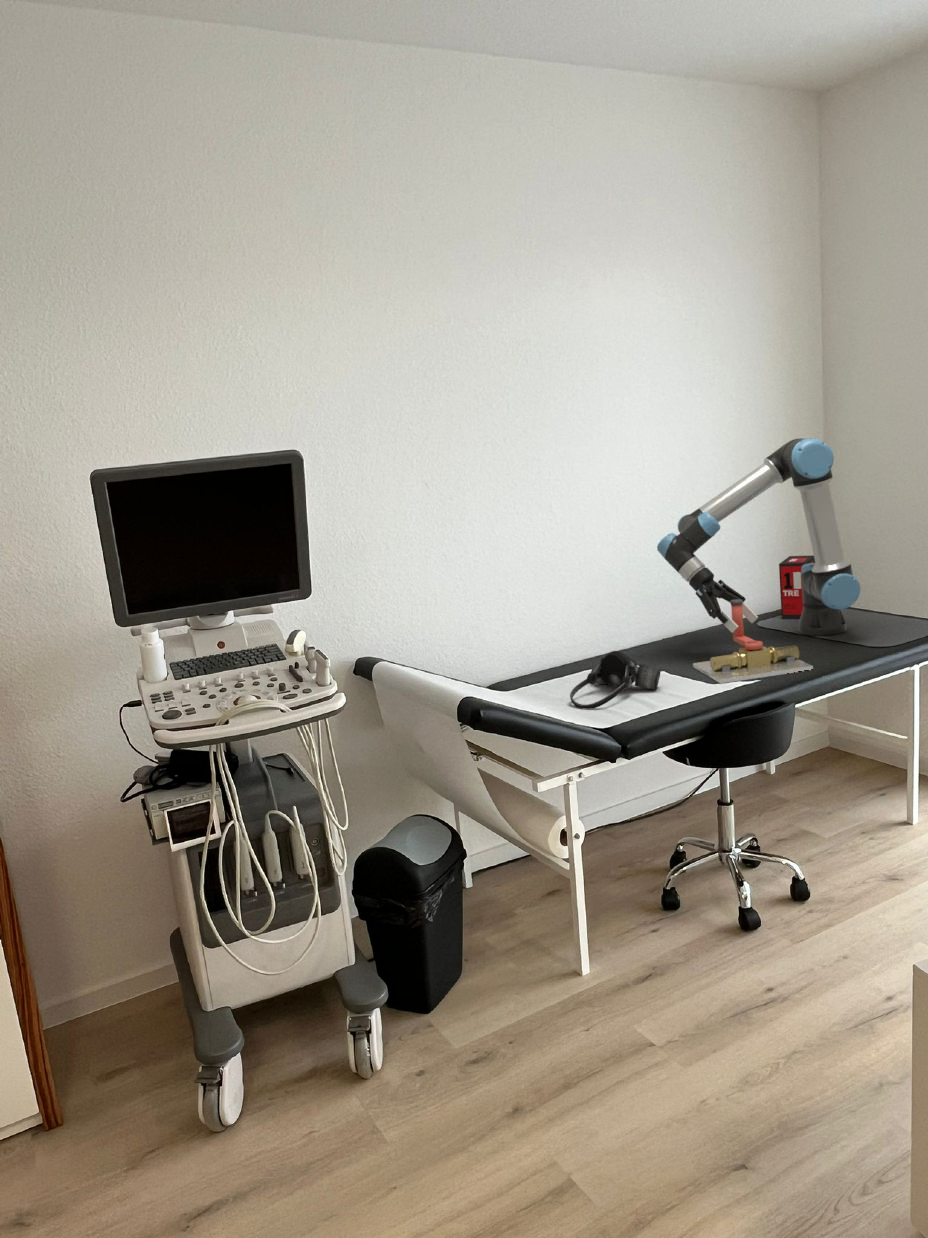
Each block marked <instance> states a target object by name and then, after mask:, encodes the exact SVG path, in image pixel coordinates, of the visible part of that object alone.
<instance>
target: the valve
mask: <svg viewBox="0 0 928 1238" xmlns="http://www.w3.org/2000/svg"><path fill="white" fill-rule="evenodd" d="M799 657H800V650H799V647H798V646H797V645H795V644H794V645H788V646H787V645H786V646H782V647H781V646H780V647H775V646H774V645H773V646H768V647H766V646H765V645H763V648H762V649H758V650H748V649H745V646H744V647H739V648H738V651H733V652H732V654H731V653H730V654H724V655H719V656H718V655H717V656H711V657H710V659H709V660H708V661H707V660H705V661H701V662H694V663H692V666H693V668H694V669H696V670H697V671H699V672H701V673H702V674H704V675H706V676H707V677H709V678H710V679H712V680H714V681H716V682H717V683H719V684H726V683H733V682H734V683H735V682H740V681H741V682H742V681H746V680H747V681H748V680H755V679H761V678H766V677H774V676H782V675H787V673H789V674H794V672H795V673H799V672H798V671H802V672H805V671H804V670H809V671H812V670H811V669H813V670H814V665H812V664H811V663H807V662H806V661H803V660H801V659H799Z"/></svg>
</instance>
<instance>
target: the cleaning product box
mask: <svg viewBox="0 0 928 1238" xmlns="http://www.w3.org/2000/svg"><path fill="white" fill-rule="evenodd" d="M810 563H815V559H814V554H813V555H812V554H811V555H789V556H788V557H786V558H785V559H783V560H782V561H781V562H780V563H778V569H779V570H778V572H779V574H778V575H779V590H780V591H779V593H780V608H781V609H780V610H781V611H780V613H781V620H800V617H801V614H802V611H803V598H802V578H801V568H802V566H803V565H805V564H810Z"/></svg>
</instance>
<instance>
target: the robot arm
mask: <svg viewBox="0 0 928 1238" xmlns="http://www.w3.org/2000/svg"><path fill="white" fill-rule="evenodd" d="M833 466H834V452H833V450H832V449H831V447H830V446H829V445H828V444H827V443H826V442H824V441H822V440H820V439H816V438H812V437H811V438H794V439H791V440H789V441H787V442H786V443H785V444H783V445H782V446H780V447H779V448H777V449H776V450H775V451H774V452H772V453H771V454H769V456H767V457H766V458H765V457H764V459H763V463H762V464H761V465H760V466H759V465H758V467H756V468H755V469H753V470H752V471H750V472H749V473H747V474H746V475H745V476H743V477H741V479H738V480H737V481H736V482H734V483H733V484H731V486H729V487H727V488H726V489H725V490H723V491H722V492H720V493H719V494H717V495H716V496H715V497H713V498H711V499H710V500H708V501H707V502H706V503H704V504H702V505H701V506H700V507H699V508H697V509H696V510H694V511H692V512H691V513H688V514H686V515H685V514H684V515H683V516H682V517H680V519H679V520H678V522H677V531H678V532H679V534H676V533H674V532H671V533H668V534H667V535H665V536H664V537H662V539H660V541H659V542H658V544H657V546H656V547H657V548H656V550H657V551H658V553H659V554H660V556H662V558H663V559H664V560H665V561H666V562H667V563H668V564H669V565H670V566H671V567H672V568H673V569H674V570H675V571H676V572H677V574H679V575H680V576H681V578H682V579H684V580H685V582H687V583H688V585H689V586H690V587H691V589H693V590H694V591H695V595H696V596H697V597H698V599H699V600H700V602H701V604H702V605H703V607H704V609H705V611H706V613H707V614H708V616H709V617H711V618H712V619H713V620H716V618H717V619H718V621H720V622H721V623H722V624H723V626H725V628H727V629H728V631H730V633H731V634H733V632H734V631H735V630H736V629H737V628H738V627H739V626H738V625H737V624H736V623H735V622H734V621H733V620H732V617H730V616H729V615H728V614H727V613H726V612H725V611H724V610H721V609H722V608H721V606H720V604H719V602H718V599H723V600H725V601H726V602H728V603H730V601H731V600H735V599H741V600H743V604H742V611H743V617H745V618H746V619H747V620H748V621H749V623H751V624H754V622H755V621H756V620H757V619H759V616H758V615H757V614H756V613H755V612H754V611H753V610H752V609H751V608H750V607H749V606H748V605H747V604H746V603H745V601H746V597H744V596H743V595H742V594H740V593H739V592H737V591H736V590H735V589H734V588H732V587H730V586H729V585H728V584H726V583H725V582H724V581H723V580H721V579H719V580H718V581H715V579H714V578H715V574H714V573H713V572H712V570H710V569H709V568H708V567H706V565H705V564H704V562H702V560H700V559H699V558H698V557H697V555H695V553H696V552H697V551H698V550H699V549H700V548H701V547H703V546H704V545H705V544H706V543H707V542H708V541H709V540H710V539H712V538H713V537H714V536H715V535H717V533H718V532H719V531H720V530H721V525H720V522H722V521H724V519H726V518H727V517H728V516H730V515H732V514H733V513H734V512H736V511H738V510H739V509H740V508H742V507H743V506H745V505H747V504H748V503H749V502H751V501H752V500H754V499H755V498H757V497H758V496H760V495H761V494H763V493H764V492H766V491H767V490H769V489H770V488H771V487H772V486H774V485H776V484H783V483H784V482H785V481H787V480H790V479H792V484H793V488H795V489H796V490H798V491H799V493H800V497H801V501H802V502H801V503H802V508H803V512H804V516H805V521H806V526H807V530H808V534H809V535H808V536H809V539H810V543H811V544H810V545H811V549H812V553H813V555H814V559H815V563H810V564H805V565H803V566H802V568H801V578H802V598H803V611H802V614H801V617H800V619H799V621H798V625H797V626H798V627H797V628H798V630H797V631H798V633H800V634H802V635H806V636H834V635H838V634H842V633H845V632H847V628H848V627H847V626H848V625H847V621H846V618H845V615H844V613H843V611H842V610H846V609H848V608H850V607H851V606H853V605H854V604H855V603H856V601H858V599H859V597H860V596H861V595H860V594H861V585H860V581H859V580H858V579H857V577H856V576H854V574H853V569H852V564H851V561H850V560H848V559H846V557H845V556H844V551H843V547H842V541H841V537H840V532H839V527H838V523H837V517H836V513H835V509H834V504H833V499H832V493H831V489H830V483H831V481H832V480H833V473H832V467H833Z"/></svg>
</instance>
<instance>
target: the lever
mask: <svg viewBox="0 0 928 1238" xmlns="http://www.w3.org/2000/svg"><path fill="white" fill-rule="evenodd" d="M729 603H730V605H731V607H730V608H731V619H732V620H733V621H734V622H735V623H736V624H737V625H738V626H739V627H738V628H737V629H736V630H735V631H734V632H733V633H732V638H733V639H732V640H733V642H735V643H737V644H739V645H741V646H744V647H745V649H748V650H758V649H762V648H763V646H764V643H763V641H761V640H754V639H753V638H751V637H749V636H746V635H745V631H744V615H743V611H742V604H743V600H741V599H735V600H731V601H730V602H729Z"/></svg>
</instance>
